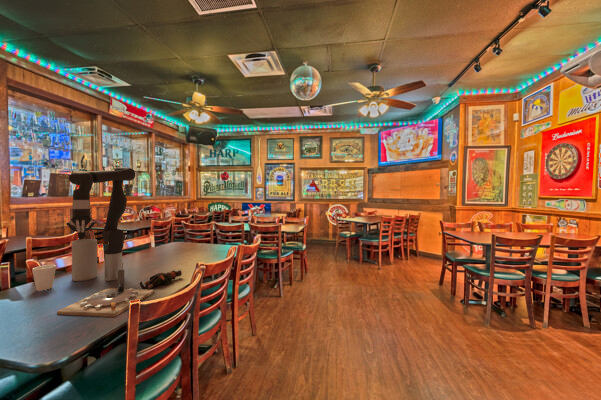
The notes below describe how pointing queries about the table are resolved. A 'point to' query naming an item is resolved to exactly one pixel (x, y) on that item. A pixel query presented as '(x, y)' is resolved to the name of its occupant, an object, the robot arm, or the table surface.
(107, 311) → the base board
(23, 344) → the table surface
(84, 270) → the cylinder vase
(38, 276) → the foam cup
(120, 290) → the sprocket
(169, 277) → the leprechaun
